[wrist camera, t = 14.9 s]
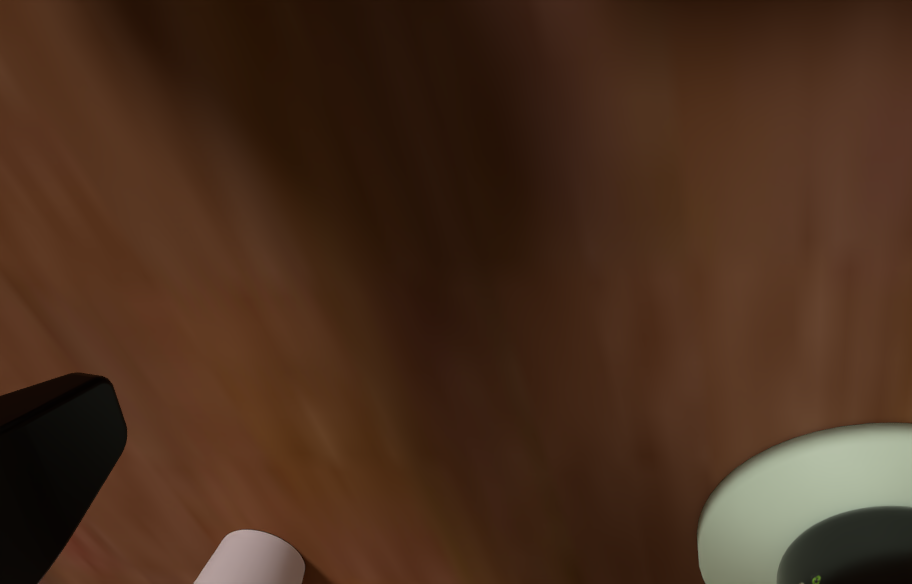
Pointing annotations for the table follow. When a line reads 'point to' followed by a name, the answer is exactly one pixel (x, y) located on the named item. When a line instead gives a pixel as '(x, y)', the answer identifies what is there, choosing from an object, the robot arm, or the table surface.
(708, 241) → the table surface
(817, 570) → the supplement bottle
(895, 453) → the green pad
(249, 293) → the table surface
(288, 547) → the smoothie
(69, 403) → the robot arm
